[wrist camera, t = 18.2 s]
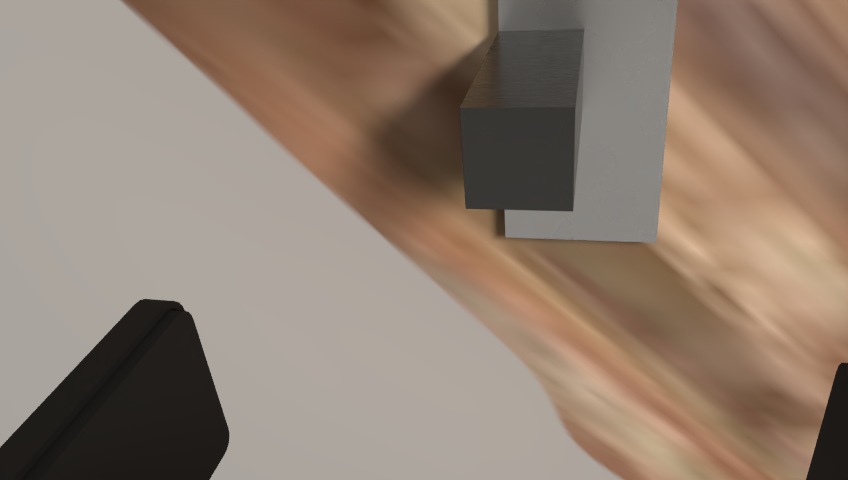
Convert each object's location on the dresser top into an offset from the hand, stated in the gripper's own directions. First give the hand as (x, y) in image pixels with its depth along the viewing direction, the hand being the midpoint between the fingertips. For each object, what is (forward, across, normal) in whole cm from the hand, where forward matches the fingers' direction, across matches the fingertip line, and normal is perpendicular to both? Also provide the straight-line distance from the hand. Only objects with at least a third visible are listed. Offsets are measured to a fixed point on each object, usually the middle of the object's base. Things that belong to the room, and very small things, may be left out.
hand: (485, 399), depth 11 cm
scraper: (+19, -1, +1) cm, 19 cm away
